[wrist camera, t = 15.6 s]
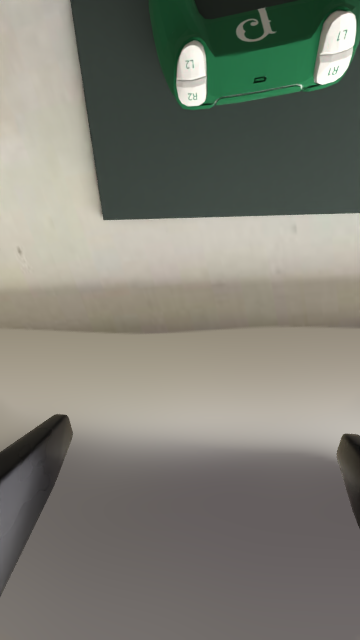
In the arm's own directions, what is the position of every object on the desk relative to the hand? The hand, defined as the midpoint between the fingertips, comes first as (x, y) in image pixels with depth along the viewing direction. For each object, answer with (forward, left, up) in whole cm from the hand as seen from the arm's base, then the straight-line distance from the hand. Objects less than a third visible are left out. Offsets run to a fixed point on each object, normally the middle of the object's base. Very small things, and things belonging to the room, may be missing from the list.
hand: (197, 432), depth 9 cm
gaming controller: (-2, -14, -12) cm, 18 cm away
